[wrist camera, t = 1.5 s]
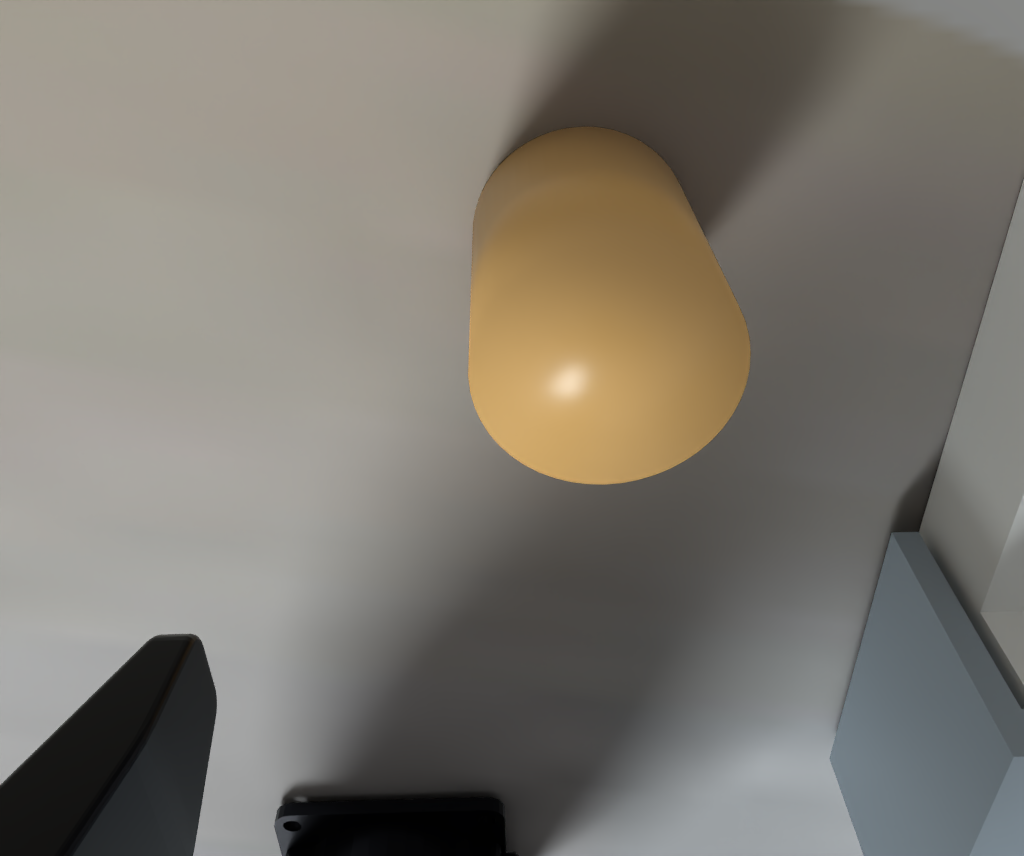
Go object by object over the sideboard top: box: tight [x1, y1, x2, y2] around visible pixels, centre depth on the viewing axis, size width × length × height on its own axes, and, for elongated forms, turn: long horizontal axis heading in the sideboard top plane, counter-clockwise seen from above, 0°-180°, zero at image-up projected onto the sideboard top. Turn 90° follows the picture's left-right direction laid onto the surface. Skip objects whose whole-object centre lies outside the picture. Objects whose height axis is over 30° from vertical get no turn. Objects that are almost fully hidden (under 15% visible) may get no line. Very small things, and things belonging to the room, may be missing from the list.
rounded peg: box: [468, 127, 751, 484], centre depth 15 cm, size 4×4×5 cm
